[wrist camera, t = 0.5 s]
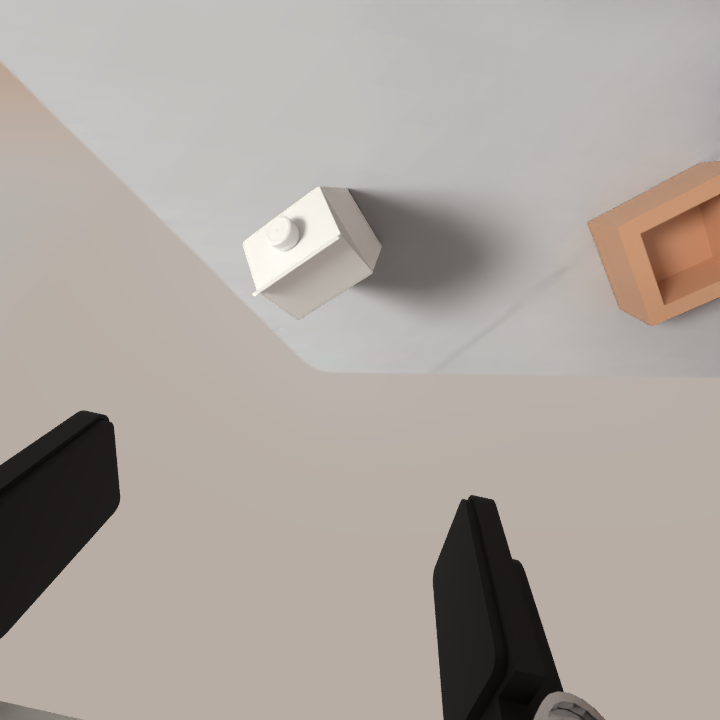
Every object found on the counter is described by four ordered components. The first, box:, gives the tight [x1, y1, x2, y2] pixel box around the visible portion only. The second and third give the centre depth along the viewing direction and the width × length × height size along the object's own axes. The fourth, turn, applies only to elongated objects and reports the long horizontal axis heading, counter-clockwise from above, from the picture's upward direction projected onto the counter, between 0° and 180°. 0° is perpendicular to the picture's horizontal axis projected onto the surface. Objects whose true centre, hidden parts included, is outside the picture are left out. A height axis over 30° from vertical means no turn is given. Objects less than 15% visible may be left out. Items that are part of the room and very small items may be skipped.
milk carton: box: [243, 187, 382, 320], centre depth 34 cm, size 7×7×19 cm
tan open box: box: [587, 161, 720, 326], centre depth 37 cm, size 10×10×6 cm
